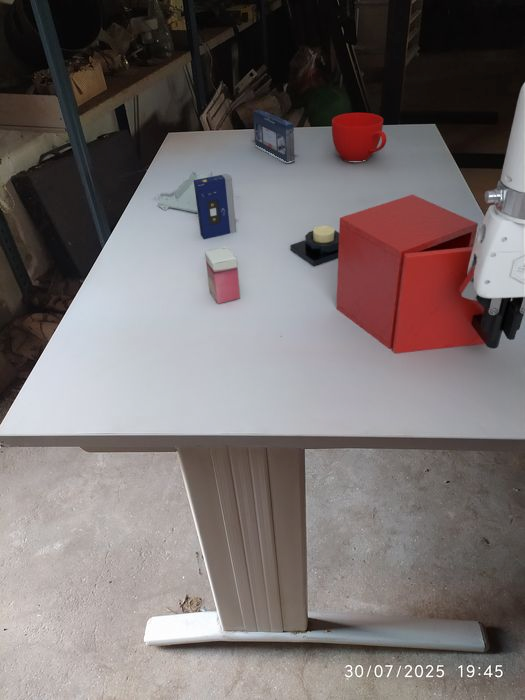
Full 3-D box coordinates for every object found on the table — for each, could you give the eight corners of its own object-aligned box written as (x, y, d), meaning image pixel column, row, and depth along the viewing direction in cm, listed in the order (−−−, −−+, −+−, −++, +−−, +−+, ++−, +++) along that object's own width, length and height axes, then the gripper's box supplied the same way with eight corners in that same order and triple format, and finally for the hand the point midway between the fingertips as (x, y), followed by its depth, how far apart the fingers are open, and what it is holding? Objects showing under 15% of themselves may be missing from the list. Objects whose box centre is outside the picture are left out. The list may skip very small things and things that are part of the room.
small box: (208, 290, 95) (203, 250, 90) (232, 285, 96) (228, 245, 91) (217, 305, 91) (212, 263, 86) (241, 299, 92) (237, 257, 87)
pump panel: (331, 236, 109) (332, 222, 107) (356, 251, 103) (357, 237, 101) (290, 250, 105) (289, 236, 103) (313, 267, 99) (314, 252, 97)
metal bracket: (184, 163, 130) (237, 172, 123) (192, 184, 134) (243, 192, 128) (151, 201, 123) (205, 211, 117) (160, 221, 128) (212, 232, 121)
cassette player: (203, 239, 110) (196, 182, 103) (200, 235, 112) (192, 178, 105) (237, 232, 112) (232, 175, 105) (233, 227, 114) (228, 171, 107)
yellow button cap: (325, 232, 105) (326, 223, 103) (338, 239, 102) (338, 231, 101) (308, 237, 103) (308, 229, 102) (321, 245, 100) (321, 237, 99)
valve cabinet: (458, 318, 84) (478, 223, 74) (389, 349, 79) (401, 251, 69) (401, 283, 93) (412, 194, 83) (336, 309, 88) (339, 217, 78)
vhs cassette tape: (254, 146, 156) (252, 110, 150) (263, 144, 157) (261, 108, 151) (285, 165, 143) (284, 125, 136) (295, 162, 144) (294, 123, 137)
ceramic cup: (363, 175, 134) (365, 133, 128) (320, 158, 145) (321, 119, 139) (401, 163, 139) (405, 122, 133) (357, 147, 150) (359, 109, 144)
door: (506, 368, 74) (535, 268, 65) (406, 379, 74) (421, 280, 64) (484, 339, 80) (509, 242, 70) (392, 349, 79) (403, 253, 69)
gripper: (471, 217, 56) (444, 354, 68) (625, 209, 56) (572, 349, 67) (451, 189, 62) (429, 320, 74) (590, 181, 62) (547, 314, 73)
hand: (498, 333), depth 70 cm, fingers closed on door
